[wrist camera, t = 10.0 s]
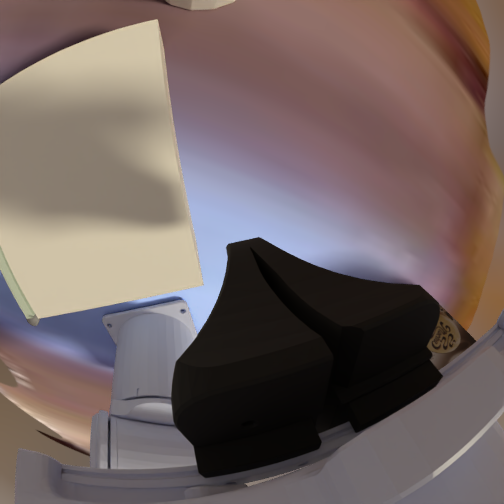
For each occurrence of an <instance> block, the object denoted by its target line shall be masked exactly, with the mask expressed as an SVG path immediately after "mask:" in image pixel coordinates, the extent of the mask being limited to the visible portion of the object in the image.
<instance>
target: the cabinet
mask: <svg viewBox="0 0 504 504" xmlns="http://www.w3.org/2000/svg"><path fill="white" fill-rule="evenodd" d="M0 246H1V248H2V251H3V253H4V255H5V258H6V260H7V262H8V264H9V266H10V268H11V270H12V273H13V275H14V277H15V279H16V280H17V282H18V284H19V286H20V288H21V290H22V292H23V294H24V295H25V297H26V299H27V301H28V302H29V304H30V306H31V308H32V309H33V311H34V313H35V314H36V316H37V317H38V319H39V318H45V317H50V316H56V315H61V314H67V313H72V312H77V311H82V310H88V309H93V308H98V307H103V306H108V305H113V304H118V303H123V302H128V301H133V300H137V299H142V298H147V297H152V296H156V295H161V294H166V293H170V292H175V291H180V290H184V289H189V288H193V287H198V286H202V285H204V284H203V279H202V273H201V268H200V262H199V256H198V250H197V244H196V238H195V233H194V229H193V224H192V220H191V215H190V210H189V205H188V200H187V195H186V190H185V185H184V180H183V174H182V169H181V164H180V158H179V152H178V147H177V141H176V135H175V128H174V122H173V115H172V109H171V102H170V95H169V87H168V79H167V71H166V63H165V54H164V47H163V42H162V38H161V33H160V28H159V23H158V19H157V20H152V21H147V22H143V23H139V24H135V25H131V26H127V27H124V28H120V29H117V30H114V31H111V32H107V33H104V34H101V35H99V36H96V37H93V38H90V39H88V40H85V41H82V42H80V43H77V44H75V45H73V46H70V47H68V48H66V49H63V50H61V51H59V52H57V53H55V54H53V55H51V56H48V57H46V58H45V59H43V60H41V61H39V62H37V63H35V64H33V65H31V66H30V67H28V68H26V69H24V70H23V71H21V72H19V73H18V74H16V75H14V76H13V77H11V78H10V79H8V80H6V81H5V82H3V83H2V84H0Z"/></svg>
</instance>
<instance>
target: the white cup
mask: <svg viewBox="0 0 504 504" xmlns="http://www.w3.org/2000/svg"><path fill="white" fill-rule="evenodd" d="M165 1H166V2H168V3H169V4H170V5H173V6H177V7H181V8H184V9H188V10H210V9H216V8H219V7H221V6H224V5H227V4H230V3H233V2H235V1H236V0H165Z"/></svg>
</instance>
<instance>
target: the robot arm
mask: <svg viewBox="0 0 504 504" xmlns="http://www.w3.org/2000/svg"><path fill="white" fill-rule="evenodd" d="M226 249H227V255H228V261H227V268H226V273H225V277H224V281H223V285H222V288H221V291H220V294H219V296H218V299H217V301H216V304H215V306H214V308H213V310H212V312H211V314H210V316H209V318H208V319H207V321H206V323H205V324H204V326H203V327H202V329H201V330H200V332H199V333H198V334H197V331H196V329H195V326H194V323H193V320H192V317H191V314H190V311H189V308H188V305H187V302H186V301H184V300H177V301H172V302H167V303H163V304H158V305H153V306H148V307H143V308H138V309H133V310H128V311H123V312H118V313H113V314H108V315H104V316H103V319H102V322H103V324H104V325H105V327H106V329H107V331H108V332H109V334H110V336H111V337H112V339H113V341H114V342H115V344H116V345H117V348H116V356H115V364H114V373H113V383H112V395H111V405H110V411H109V416H108V412H106V411H103V410H100V411H99V414H98V413H97V414H95V415H94V416H93V417H92V425H91V439H90V467H80V466H71V465H64V464H61V463H60V462H58V461H57V460H55V459H54V458H52V457H50V456H48V455H45V454H43V453H39V452H34V451H30V450H25V449H21V448H20V449H18V455H17V464H16V477H15V504H504V430H503V428H502V427H501V426H500V424H499V423H498V422H497V419H498V418H499V417H500V416H501V414H502V413H503V412H504V309H503V311H502V313H501V314H500V316H499V318H498V320H497V323H496V324H495V325H494V326H493V327H492V328H491V329H490V330H489V331H488V332H487V333H486V334H484V335H483V336H482V337H481V338H480V339H479V340H478V341H476V342H475V343H474V344H473V345H471V346H470V347H469V348H468V349H467V350H465V351H464V352H463V353H462V354H460V355H459V356H458V357H456V358H455V359H454V360H452V361H451V362H450V363H448V364H447V365H446V366H444V367H443V368H441V369H440V370H438V369H437V368H436V367H435V365H434V364H433V363H432V362H431V360H430V359H431V358H432V356H433V355H432V352H431V351H430V350H429V349H428V347H427V345H428V343H429V341H430V339H431V337H432V335H433V332H434V330H435V328H436V326H437V323H438V320H439V316H440V306H439V303H438V302H437V301H436V300H435V299H434V298H433V297H432V296H431V295H430V294H429V293H428V292H427V291H425V290H424V289H423V288H422V287H421V286H420V285H410V284H393V283H384V282H377V281H370V280H365V279H360V278H355V277H351V276H347V275H343V274H339V273H336V272H333V271H330V270H327V269H324V268H321V267H318V266H315V265H313V264H311V263H308V262H306V261H304V260H301V259H299V258H297V257H295V256H293V255H291V254H289V253H287V252H285V251H283V250H282V249H280V248H278V247H276V246H274V245H272V244H271V243H269V242H267V241H265V240H264V239H262V238H259V237H258V238H253V239H249V240H244V241H239V242H235V243H230V244H228V245H227V247H226ZM181 309H185V310H184V311H182V310H181ZM109 324H111V325H109ZM308 465H309V466H308ZM305 466H307V467H305ZM302 467H304V468H302ZM299 468H302V469H299ZM296 469H299V470H297V471H294V472H292V473H289V474H286V475H283V476H281V477H278V478H275V479H272V480H269V481H265V482H262V483H259V484H256V485H252V486H249V487H248V486H247V485H246V484H244V483H249V482H253V481H257V480H261V479H265V478H269V477H273V476H277V475H280V474H284V473H287V472H290V471H293V470H296Z"/></svg>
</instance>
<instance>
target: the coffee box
mask: <svg viewBox="0 0 504 504" xmlns="http://www.w3.org/2000/svg"><path fill="white" fill-rule="evenodd" d="M439 306H440V305H439ZM475 342H476V340H474V338H473V337H472V336H471V335H470V334H469V333H468V332H467V331H466V330H465V329H464V328H463V327H462V326H461V325H460V324H459V323H458V322H457V321H456V320H455V319H454V318H453V317H452V316H451V315H450V314H449V313H448V312H447V311H446V310H445V309H444V308H443V307H442V306H440V316H439V320H438V323H437V326H436V328H435V330H434V332H433V335H432V337H431V339H430V341H429V343H428V345H427V347H428V349H429V350H430V351H431V352H432V355H433V356H432V358H431V359H430V360H431V362H432V363H433V364H434V365H435V367H436V368H437V369H438V370H440V369H441V368H443V367H444V366H446V365H447V364H448V363H450V362H451V361H452V360H454V359H455V358H456V357H458V356H459V355H460V354H462V353H463V352H464V351H465V350H467V349H468V348H469V347H470V346H471V345H473V344H474V343H475Z"/></svg>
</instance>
